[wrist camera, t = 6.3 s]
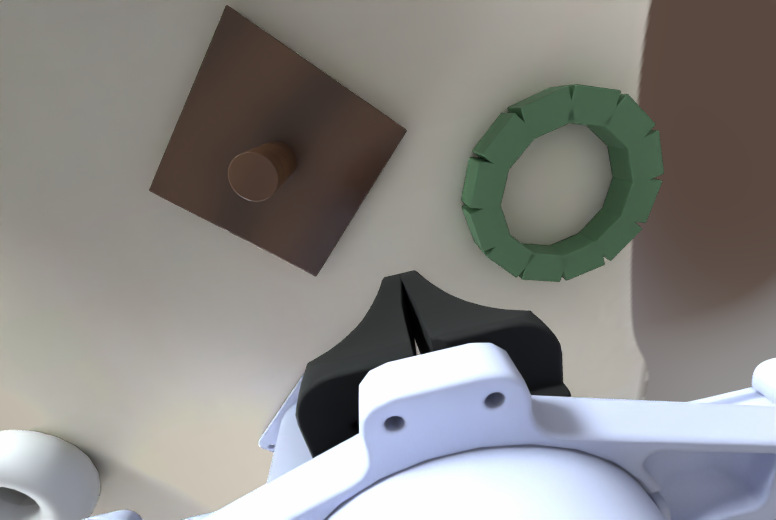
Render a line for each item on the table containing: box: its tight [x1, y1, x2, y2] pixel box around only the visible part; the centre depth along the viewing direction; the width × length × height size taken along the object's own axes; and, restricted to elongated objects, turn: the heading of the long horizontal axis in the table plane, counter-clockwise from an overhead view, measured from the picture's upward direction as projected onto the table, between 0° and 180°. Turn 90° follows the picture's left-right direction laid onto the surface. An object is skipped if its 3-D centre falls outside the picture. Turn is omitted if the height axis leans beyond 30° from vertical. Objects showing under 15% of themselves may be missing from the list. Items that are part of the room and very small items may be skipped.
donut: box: [0, 430, 101, 520], centre depth 26 cm, size 10×4×10 cm
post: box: [149, 5, 407, 276], centre depth 17 cm, size 10×10×6 cm
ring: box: [461, 84, 664, 282], centre depth 21 cm, size 11×11×2 cm
